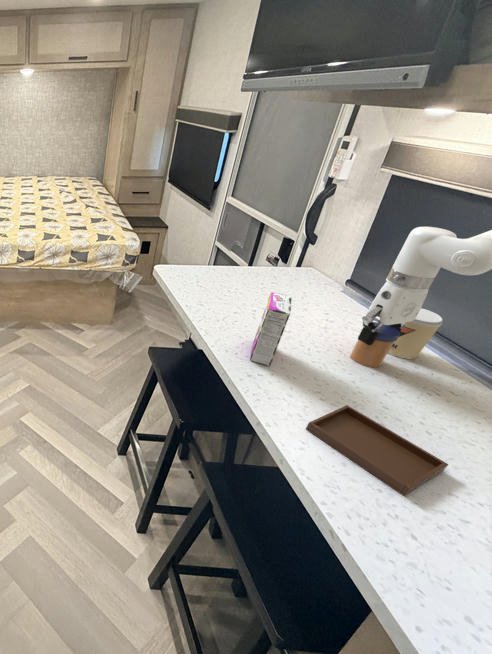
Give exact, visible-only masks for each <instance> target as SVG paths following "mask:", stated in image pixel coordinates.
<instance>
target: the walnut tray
mask: <svg viewBox="0 0 492 654" xmlns="http://www.w3.org/2000/svg"><path fill="white" fill-rule="evenodd" d="M305 431H307V432H309V433H311V434H312V435H314V436H315V437H316V438H318V439H319V440H321V441H322V442H324V443H325V444H327V445H328V446H330V447H331V448H333V449H334V450H336V451H337V452H339V453H340V454H342V455H343V456H344V457H346V458H347V459H349V460H351V461H352V462H353V463H354V464H356V465H357V466H359V467H360V468H363V469H364V470H365V471H366V472H368V473H369V474H371V475H373V476H374V477H375V478H377V479H378V480H380V481H381V482H383V483H384V484H386V485H387V486H389V487H390V488H391V489H393V490H395V491H396V492H397V493H398V494H401V496H403V497H405V496H406V495H408V494H409V493H412V492H413V491H415V490H416V489H418V488H419V487H421V486H422V485H424V484H426V483H428V482H429V481H430V480H432V479H433V478H435V477H437V476H438V475H440V474H442V473H443V472H444V471H445V470H446V469H447V468H448V466H449V463H447V462H445V461H444V460H442V459H440V458H438V457H437V456H435V455H434V454H432V453H430V452H428V451H427V450H425V449H423V448H421V447H419V446H418V445H416V444H414V443H413V442H411V441H410V440H407V439H406V438H404V437H402V436H401V435H399V434H397V432H395V431H392V430H390V429H389V428H387V427H385V426H384V425H382V424H380V423H379V422H377V421H375V420H373V419H372V418H370V417H369V416H367V415H365V414H363V413H362V412H359V411H358V410H356V409H355V408H353V407H351V406H350V405H347V404H346V405H344V406H342V407H340V408H337V409H335V410H333V411H331V412H328V413H326V414H325V415H322V416H320V417H318V418H315V419H314V420H311V421H309V422H308V424H307V426H306V428H305Z"/></svg>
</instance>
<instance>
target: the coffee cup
mask: <svg viewBox="0 0 492 654" xmlns="http://www.w3.org/2000/svg"><path fill="white" fill-rule="evenodd" d="M442 325H443V318H442V317H441V315H439V314H437V313H436V312H434V311H432V310H428V309H425V308H422V307H421V309H420V311H419V313H418V315H417V316H416V318H415V319H414V320H413V321H411V322H406V324H405V326H404V327H403V328H401V329H402V330H401V331H400V335H399V337H398V338H397V340H396V341H395V342H394V343H393V345H392V347H391V349H390V350H389V352H388V355H392V356H394V357H396V358H401V359H406V360H407V359H408V360H413V359H416V358H417V357H418V356H419V354H420V353H421V352H422V351H423V349H424V348H425V347H426V345H427V344H428V343H429V341H430V340H431V339H432V338H433V336H434V335H435V333H436V332H437V331H438V329H439V328H440V326H442Z"/></svg>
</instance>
